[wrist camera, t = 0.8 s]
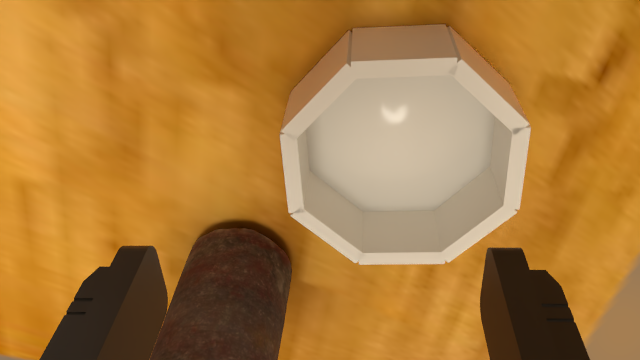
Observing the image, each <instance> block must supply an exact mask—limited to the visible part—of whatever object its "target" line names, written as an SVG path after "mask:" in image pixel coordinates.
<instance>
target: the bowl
mask: <svg viewBox="0 0 640 360" xmlns="http://www.w3.org/2000/svg"><path fill="white" fill-rule="evenodd" d="M529 124H530V123H529V121H528V119H527V117H526V116H525V114H524V112H523V110H522V108H521V106H520V104H519V102H518V100H517V98H516V96H515V94H514V92H513V90H512V88H511V86H510V84H509V83H508V82H507V81H506V80H505V79H504V78H503V77H502V76H501V75H500V74H499V73H498V72H497V71H496V70H495V69H494V68H493V67H492V66H491V65H490V64H488V63H487V62H486V61H485V60H484V59H483V58H482V57H481V56H480V55H479V54H478V53H477V52H476V51H475V50H474V49H473V48H472V47H471V46H470V45H469V44H468V43H467V42H466V41H465V40H464V39H463V38H462V37H461V36H460V35H459V34H458V33H457V32H456V31H455V30H453V29H452V28H451V27H450V26H448V27H446V24H436V25H413V26H390V27H367V28H353V30H352V32H351V31H350V30H348V31H347V32H346V33H345V35H344V36H343V37H342V38H341V39H340V40H339V41H338V42H337V43H336V44H335V45H334V46H333V47H332V48H331V49H330V50H329V52H328V53H327V54H326V55H325V56H324V57H323V58H322V59H321V60H320V61H319V62H318V63H317V64H316V65H315V66H314V67H313V69H312V70H311V71H310V72H309V73H308V74H307V75H306V76H305V77H304V78H303V79H302V80H301V81H300V82H299V83H298V84H297V86H296V87H295V88H294V89H293V90H292V91H291V93H290V96H289V100H288V104H287V107H286V111H285V115H284V119H283V123H282V127H281V131H280V142H281V151H282V160H283V168H284V177H285V186H286V194H287V203H288V211H289V213H291V217H293V218H294V219H295V220H297V221H298V222H299V223H301V224H302V225H303V226H305V227H306V228H308V229H309V230H310V231H312V232H313V233H314V234H316V235H317V236H318V237H320V238H321V239H323V240H324V241H325V242H327V243H328V244H329V245H331V246H332V247H334V248H335V249H336V250H338V251H339V252H340V253H342V254H343V255H344V256H346V257H347V258H349V259H350V260H351V261H353V262H354V263H357V262H358V261H359V265H372V264H445V260H446V261H447V262H448V263H449V262H450V261H452V260H453V259H454V258H456V257H457V256H458V255H460V254H461V253H462V252H464V251H465V250H467V249H468V248H469V247H471V246H472V245H473V244H475V243H476V242H478V241H479V240H480V239H482V238H483V237H484V236H486V235H487V234H489V233H490V232H491V231H493V230H494V229H495V228H497V227H498V226H500V225H501V224H502V223H504V222H505V221H506V220H508V219H509V218H511V217H512V216H513V215H515V214H516V213H517V210H516V209H520V202H521V195H522V188H523V181H524V174H525V167H526V159H527V152H528V145H529V138H530V131H531V127H530V125H529Z"/></svg>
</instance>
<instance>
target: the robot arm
mask: <svg viewBox="0 0 640 360" xmlns="http://www.w3.org/2000/svg"><path fill="white" fill-rule="evenodd" d="M167 303H168V297H167V290H166V286H165V282H164V278H163V274H162V270H161V267H160V263H159V259H158V255H157V252H156V249H155V248H154V247H153V246H122V247H121V248H120V249H119V250H118V252H117V254H116V256H115V258H114V260H113V262H112V263H111V265H110V267H99V268H98V269H97V270H96V271H95V272H93V273H92V274H91V275H90V276H89V277H88V278H87V279H86V280H84V281H83V283H82V285H81V287H80V288H79V290H78V292H77V294H76V296H75V297H74V302H72V303H71V305H70V306H69V308H68V310H67V314H66V315H64V317H63V319H62V321H61V322H60V324H59V326H58V328H57V330H56V331H55V333H54V335H53V337H52V339H51V340H50V342H49V344H48V346H47V347H46V349H45V351H44V353H43V355H42V356H41V358H40V360H149V359H150V357H151V354H152V351H153V348H154V346H155V343H156V340H157V338H158V335H159V332H160V329H161V327H162V324H163V321H164V319H165V316H166V312H167ZM480 311H481V319H482V324H483V329H484V334H485V338H486V343H487V347H488V352H489V356H490V360H590V359H589V356H588V354H587V351H586V348H585V346H584V343H583V341H582V338H581V336H580V333H579V331H578V328H577V326H576V323H574V318H573V315H572V313H571V310H570V308H568V303H567V300H566V298H565V295H564V292H563V290H562V287H561V286H560V284H559V283H558V282H557V281H556V280H555V279H554V278H553V277H552V276H551V275H550V274H549V273H548V272H547V271H546V270H529V267H528V264H527V261H526V258H525V255H524V252H523V250H522V249H521V248H488V250H487V253H486V260H485V267H484V274H483V281H482V288H481V296H480Z"/></svg>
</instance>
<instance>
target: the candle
mask: <svg viewBox="0 0 640 360" xmlns="http://www.w3.org/2000/svg"><path fill="white" fill-rule="evenodd" d="M291 273H292V269H291V263H290V261H289V259H288V256H287V255H286V253H285V251H284V250H282V249H281V248H280V247H279V246H277V245H276V244H275V243H274V242H273V241H271V240H270V239H269V238H267V237H265V236H264V235H262V234H260V233H258V232H256V231H254V230H252V229H245V228H242V229H238V228H232V229H216V230H214V231H212V232H210V233H208V234H206V235H204V236H202V237H200V238H199V239H198V240H197V241H196V242H195V244H194V245H193V247H192V249H191V252H190V254H189V257H188V259H187V261H186V264H185V267H184V269H183V272H182V274H181V277H180V279H179V282H178V285H177V287H176V290H175V293H174V295H173V298H172V301H171V303H170V306H169V309H168V311H167V314H166V317H165V320H164V323H163V325H162V328H161V330H160V333H159V336H158V338H157V341H156V344H155V346H154V349H153V352H152V355H151V357H150V360H277V359H278V354H279V348H280V343H281V337H282V331H283V327H284V320H285V313H286V305H287V300H288V295H289V289H290V282H291Z"/></svg>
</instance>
